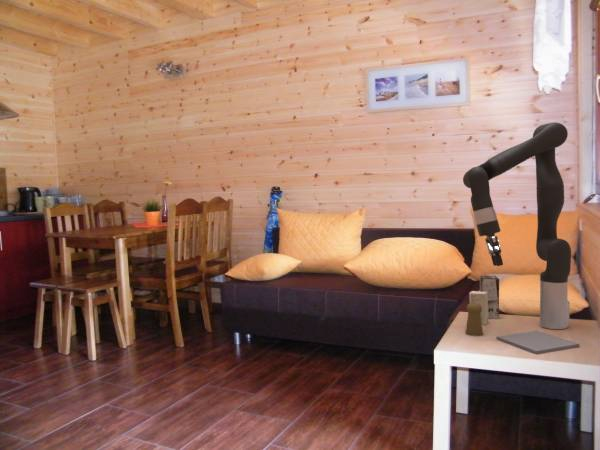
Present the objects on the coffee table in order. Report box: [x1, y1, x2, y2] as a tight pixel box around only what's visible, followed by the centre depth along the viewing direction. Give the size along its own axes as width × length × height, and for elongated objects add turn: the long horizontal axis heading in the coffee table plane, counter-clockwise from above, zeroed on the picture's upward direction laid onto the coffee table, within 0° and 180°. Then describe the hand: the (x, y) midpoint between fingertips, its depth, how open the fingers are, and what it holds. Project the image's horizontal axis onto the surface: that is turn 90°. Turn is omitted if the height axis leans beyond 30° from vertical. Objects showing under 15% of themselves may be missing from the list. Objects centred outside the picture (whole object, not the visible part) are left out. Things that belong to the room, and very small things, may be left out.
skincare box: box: [468, 290, 489, 326], centre depth 201 cm, size 6×4×12 cm
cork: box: [465, 302, 484, 337], centre depth 187 cm, size 6×6×11 cm
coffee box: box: [479, 275, 500, 320], centre depth 211 cm, size 9×6×16 cm
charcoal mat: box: [495, 329, 580, 355], centre depth 174 cm, size 18×18×1 cm
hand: (498, 265), depth 185 cm, fingers open, 8 cm apart
